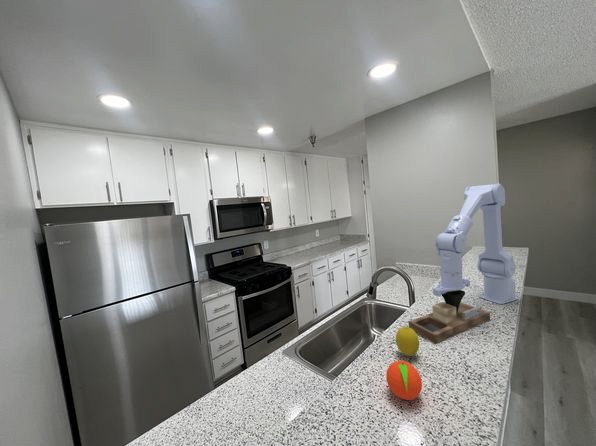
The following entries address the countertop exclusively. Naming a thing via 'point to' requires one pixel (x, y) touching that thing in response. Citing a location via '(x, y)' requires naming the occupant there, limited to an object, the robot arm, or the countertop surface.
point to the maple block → (444, 312)
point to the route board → (446, 325)
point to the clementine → (404, 380)
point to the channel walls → (471, 313)
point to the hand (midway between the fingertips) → (452, 312)
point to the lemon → (407, 341)
